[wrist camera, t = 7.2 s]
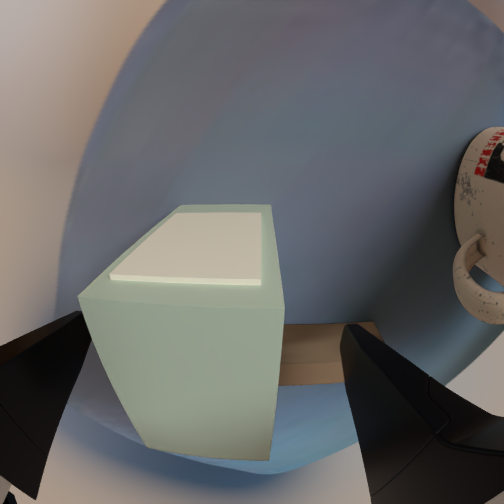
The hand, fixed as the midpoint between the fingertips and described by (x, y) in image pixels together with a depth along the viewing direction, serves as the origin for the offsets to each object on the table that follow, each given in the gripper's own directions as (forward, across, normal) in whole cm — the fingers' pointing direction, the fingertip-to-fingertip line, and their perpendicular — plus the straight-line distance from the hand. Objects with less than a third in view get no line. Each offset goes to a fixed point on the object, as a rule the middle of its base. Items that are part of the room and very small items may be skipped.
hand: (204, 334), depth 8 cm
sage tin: (+5, 0, 0) cm, 5 cm away
